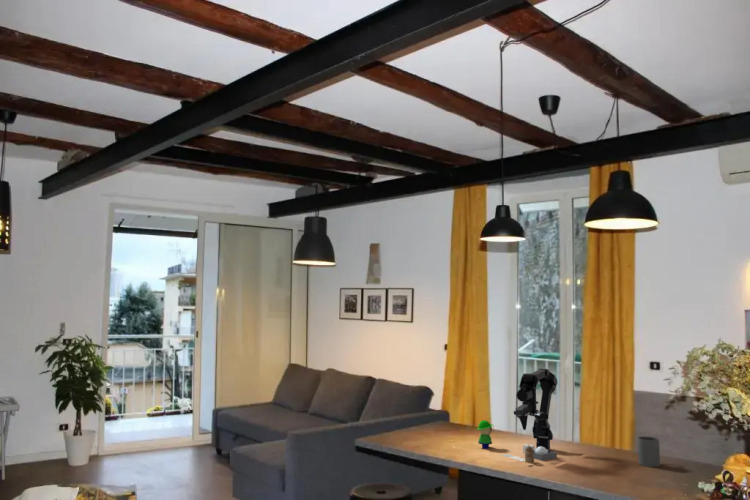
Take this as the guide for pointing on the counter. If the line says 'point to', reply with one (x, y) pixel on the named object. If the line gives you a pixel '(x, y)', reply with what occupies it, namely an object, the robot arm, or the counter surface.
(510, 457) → the board
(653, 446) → the mug
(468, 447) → the counter surface
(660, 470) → the counter surface
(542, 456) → the base
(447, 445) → the counter surface
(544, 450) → the dome
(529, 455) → the pawn
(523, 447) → the die
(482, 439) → the toy
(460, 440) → the counter surface
